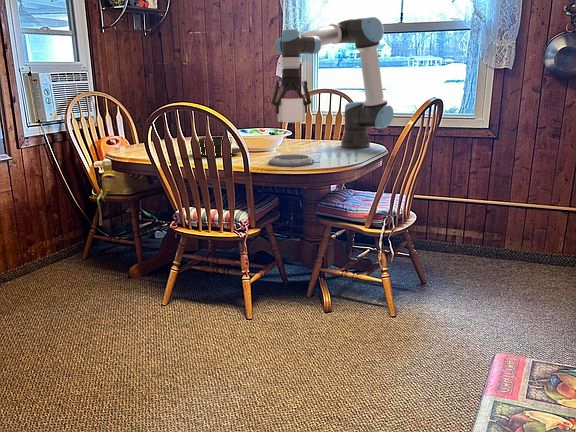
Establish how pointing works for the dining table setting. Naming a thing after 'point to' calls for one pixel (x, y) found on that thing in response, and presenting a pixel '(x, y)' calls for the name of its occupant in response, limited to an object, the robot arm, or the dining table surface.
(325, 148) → the dining table surface
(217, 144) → the casserole
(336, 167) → the dining table surface
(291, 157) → the ring collar
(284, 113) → the cup
